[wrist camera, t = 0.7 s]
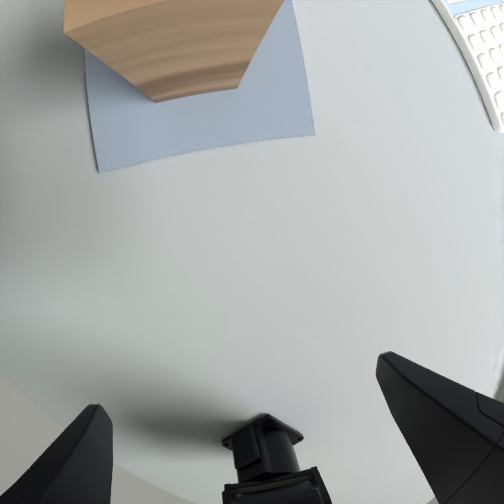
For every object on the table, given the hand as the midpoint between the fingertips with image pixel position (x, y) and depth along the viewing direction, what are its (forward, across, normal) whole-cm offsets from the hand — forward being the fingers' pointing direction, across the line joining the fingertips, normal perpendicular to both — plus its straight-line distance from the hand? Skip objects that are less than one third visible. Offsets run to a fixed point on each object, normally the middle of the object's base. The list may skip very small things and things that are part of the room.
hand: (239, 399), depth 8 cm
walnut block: (+13, 0, -13) cm, 18 cm away
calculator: (+14, -28, -18) cm, 37 cm away
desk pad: (+13, 0, -16) cm, 21 cm away
